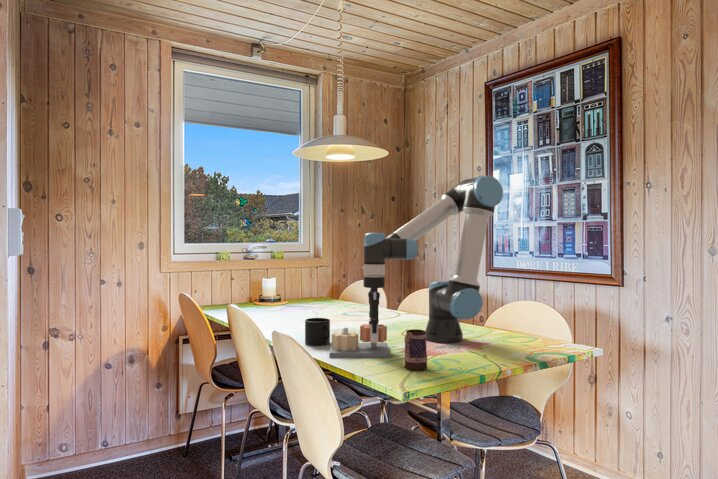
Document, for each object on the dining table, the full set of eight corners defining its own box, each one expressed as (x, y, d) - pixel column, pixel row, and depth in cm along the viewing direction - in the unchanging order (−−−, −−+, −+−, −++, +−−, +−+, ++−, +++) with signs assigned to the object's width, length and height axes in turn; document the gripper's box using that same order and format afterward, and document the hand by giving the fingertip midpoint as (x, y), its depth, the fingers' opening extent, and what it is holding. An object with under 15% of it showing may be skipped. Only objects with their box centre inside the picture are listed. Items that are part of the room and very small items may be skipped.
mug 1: (319, 348, 183) (319, 323, 183) (300, 343, 192) (300, 319, 192) (339, 344, 189) (339, 320, 189) (319, 339, 198) (319, 317, 198)
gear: (385, 337, 182) (385, 323, 182) (387, 343, 173) (387, 328, 173) (359, 337, 182) (360, 323, 182) (360, 342, 173) (360, 328, 173)
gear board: (386, 347, 186) (387, 324, 185) (390, 357, 170) (390, 332, 169) (331, 347, 185) (331, 324, 185) (329, 357, 169) (329, 332, 169)
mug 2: (411, 364, 161) (411, 327, 160) (431, 367, 157) (431, 329, 156) (395, 371, 152) (395, 331, 152) (416, 375, 148) (416, 334, 148)
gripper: (362, 273, 188) (362, 333, 188) (364, 278, 166) (363, 346, 166) (382, 274, 188) (382, 333, 188) (386, 278, 166) (386, 346, 166)
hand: (373, 339), depth 177 cm, fingers closed on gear, 9 cm apart
